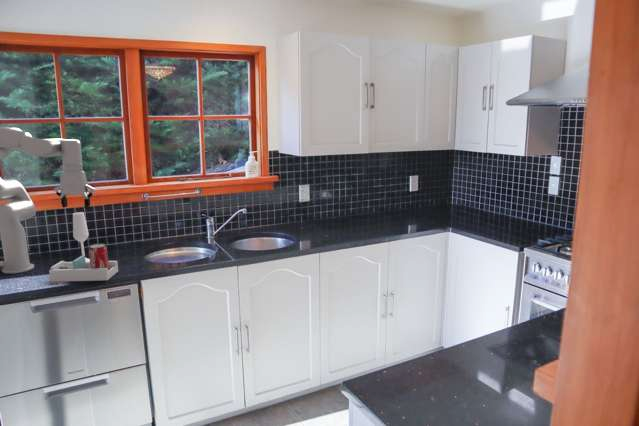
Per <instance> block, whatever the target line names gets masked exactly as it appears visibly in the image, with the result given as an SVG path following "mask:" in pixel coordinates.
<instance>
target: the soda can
mask: <svg viewBox="0 0 639 426" xmlns="http://www.w3.org/2000/svg"><path fill="white" fill-rule="evenodd" d="M107 249H108V248H107V246H106V244H105V243H94V244H90V245H89V248H88V254H89V255H88V256H89V259H90V266H91V268H108V270H109V265H108V261H109V258H108V250H107Z"/></svg>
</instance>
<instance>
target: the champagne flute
mask: <svg viewBox="0 0 639 426" xmlns="http://www.w3.org/2000/svg"><path fill="white" fill-rule="evenodd" d="M72 233H73V235H72V237H73V238H74V240H75V241H77V242H78V243H80V248H81V256H85V262H88V261H90V258H87V257H86V254H85V246H84V242H85V241H86V240H87V239H88V238H89V235H90V233H89V230H88V225H87V220H86V215H85V213H84V212H83V211H80V212H73V213H72Z"/></svg>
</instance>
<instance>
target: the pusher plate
mask: <svg viewBox="0 0 639 426" xmlns="http://www.w3.org/2000/svg"><path fill="white" fill-rule="evenodd" d="M85 258H86V255H85V256H82V255H80V256H79V257H77V258H76V259H74V260H72V261H71V262H73V269H86V262H85Z"/></svg>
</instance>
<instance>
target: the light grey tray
mask: <svg viewBox="0 0 639 426" xmlns="http://www.w3.org/2000/svg"><path fill="white" fill-rule="evenodd" d="M108 265H109V270H108V268H91V266H90V261H88V262H86V269H73V262H72V261H65V260H60V261H58V262H57V263H56V264H54V265H52V266H51V267H50V269H49V270H48V273H49V281H50V282H51V283H52V282H53V283H54V282H59V283H60V282H91V281H92V282H93V281H96V282H98V281H99V282H100V281H109V280H110V279H111V278H112V277H113V276H115V275H116V274H117V273H118V272H119V265H118V260H108Z"/></svg>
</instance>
